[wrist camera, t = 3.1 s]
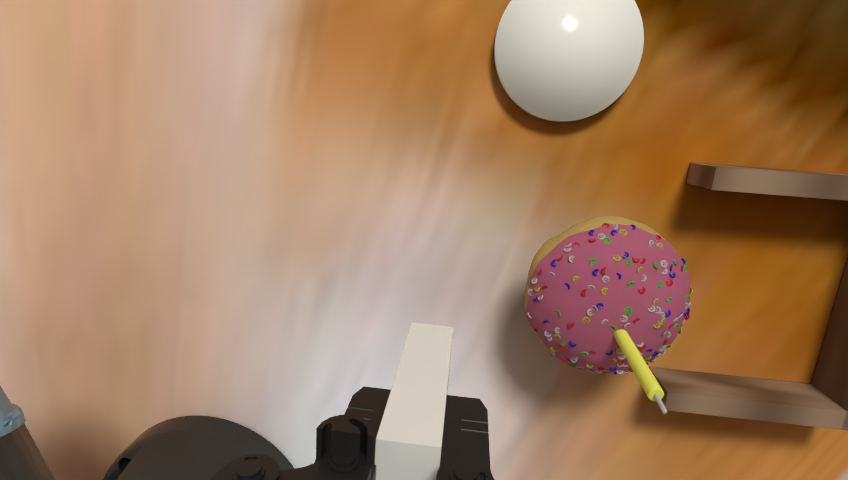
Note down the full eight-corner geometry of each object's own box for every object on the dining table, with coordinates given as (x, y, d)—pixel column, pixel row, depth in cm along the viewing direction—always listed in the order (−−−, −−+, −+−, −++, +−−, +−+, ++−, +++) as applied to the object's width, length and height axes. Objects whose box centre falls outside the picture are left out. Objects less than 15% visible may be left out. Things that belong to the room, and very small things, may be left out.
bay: (645, 383, 31) (663, 410, 28) (690, 162, 28) (716, 167, 25) (825, 402, 30) (863, 432, 28) (894, 177, 27) (945, 184, 24)
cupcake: (664, 321, 30) (786, 443, 19) (530, 346, 31) (567, 475, 20) (644, 189, 28) (765, 234, 17) (503, 221, 30) (525, 284, 18)
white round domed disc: (487, 116, 28) (487, 116, 27) (501, -33, 26) (503, -38, 26) (625, 126, 28) (629, 126, 27) (650, -26, 26) (656, -31, 25)
